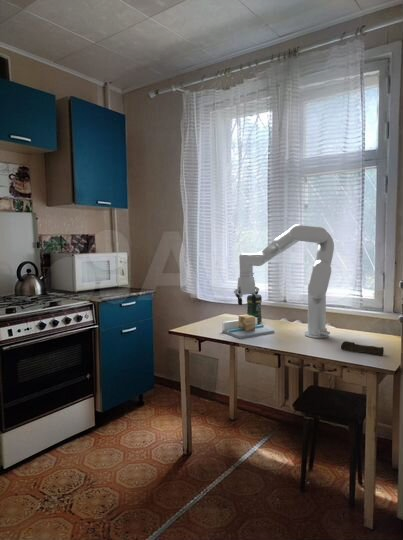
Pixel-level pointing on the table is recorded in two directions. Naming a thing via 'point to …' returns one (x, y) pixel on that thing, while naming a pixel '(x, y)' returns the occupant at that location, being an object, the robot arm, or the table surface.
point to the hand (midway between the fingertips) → (247, 303)
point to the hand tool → (361, 348)
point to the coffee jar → (254, 307)
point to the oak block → (247, 322)
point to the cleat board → (237, 332)
